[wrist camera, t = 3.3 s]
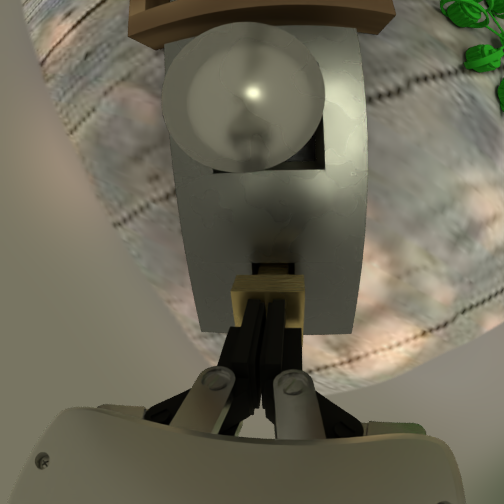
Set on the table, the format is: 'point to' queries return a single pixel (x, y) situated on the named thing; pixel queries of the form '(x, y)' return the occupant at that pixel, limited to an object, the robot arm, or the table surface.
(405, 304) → the table surface
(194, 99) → the grey tall cylinder
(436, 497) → the robot arm
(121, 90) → the table surface
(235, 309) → the release key
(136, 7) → the frame
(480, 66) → the chandelier
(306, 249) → the socket block
